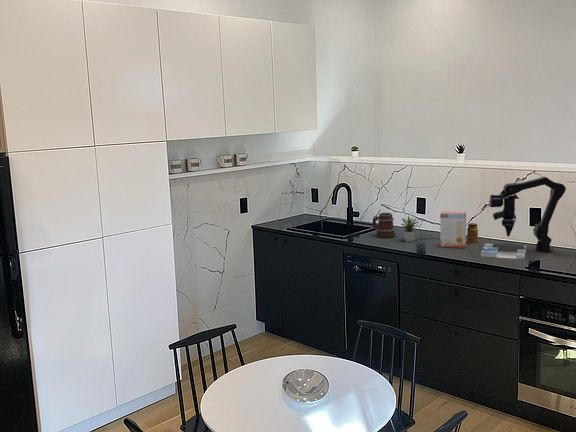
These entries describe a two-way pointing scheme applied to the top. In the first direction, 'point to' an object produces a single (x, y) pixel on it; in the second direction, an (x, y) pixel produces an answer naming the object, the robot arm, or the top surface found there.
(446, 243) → the cracker box
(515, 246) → the long grey beam
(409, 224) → the house plant
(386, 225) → the mug
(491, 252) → the white plate with bars
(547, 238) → the robot arm
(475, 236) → the condiment
